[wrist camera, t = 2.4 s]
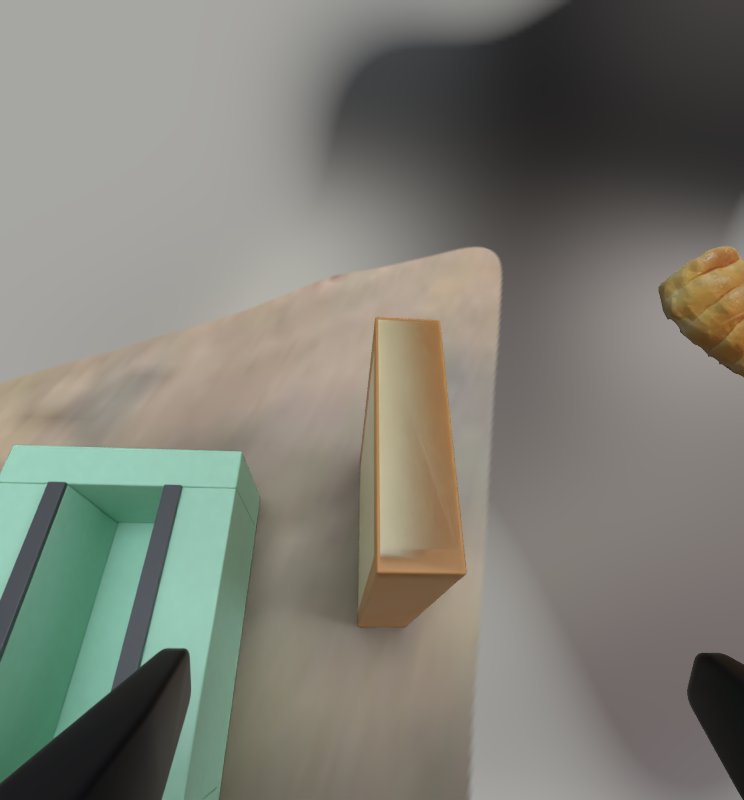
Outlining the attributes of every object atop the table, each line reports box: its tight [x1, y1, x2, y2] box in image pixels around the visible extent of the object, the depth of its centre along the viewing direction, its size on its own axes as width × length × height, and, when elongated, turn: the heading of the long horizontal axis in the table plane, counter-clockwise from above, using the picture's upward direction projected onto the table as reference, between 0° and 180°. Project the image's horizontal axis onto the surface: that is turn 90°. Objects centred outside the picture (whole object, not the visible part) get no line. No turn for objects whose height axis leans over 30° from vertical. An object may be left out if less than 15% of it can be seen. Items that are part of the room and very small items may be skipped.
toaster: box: [0, 445, 260, 800], centre depth 16 cm, size 12×10×5 cm
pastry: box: [659, 246, 744, 377], centre depth 28 cm, size 9×7×4 cm
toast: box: [357, 317, 466, 628], centre depth 17 cm, size 8×2×10 cm, turn 0°
